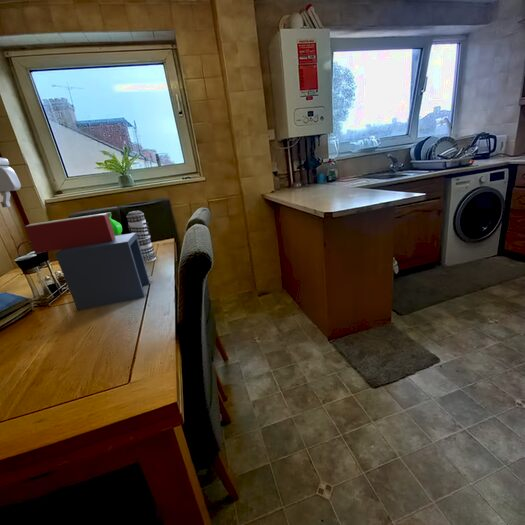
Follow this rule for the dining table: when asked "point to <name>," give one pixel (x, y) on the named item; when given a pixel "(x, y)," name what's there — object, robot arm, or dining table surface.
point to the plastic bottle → (115, 225)
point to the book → (70, 232)
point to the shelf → (104, 271)
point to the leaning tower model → (141, 234)
